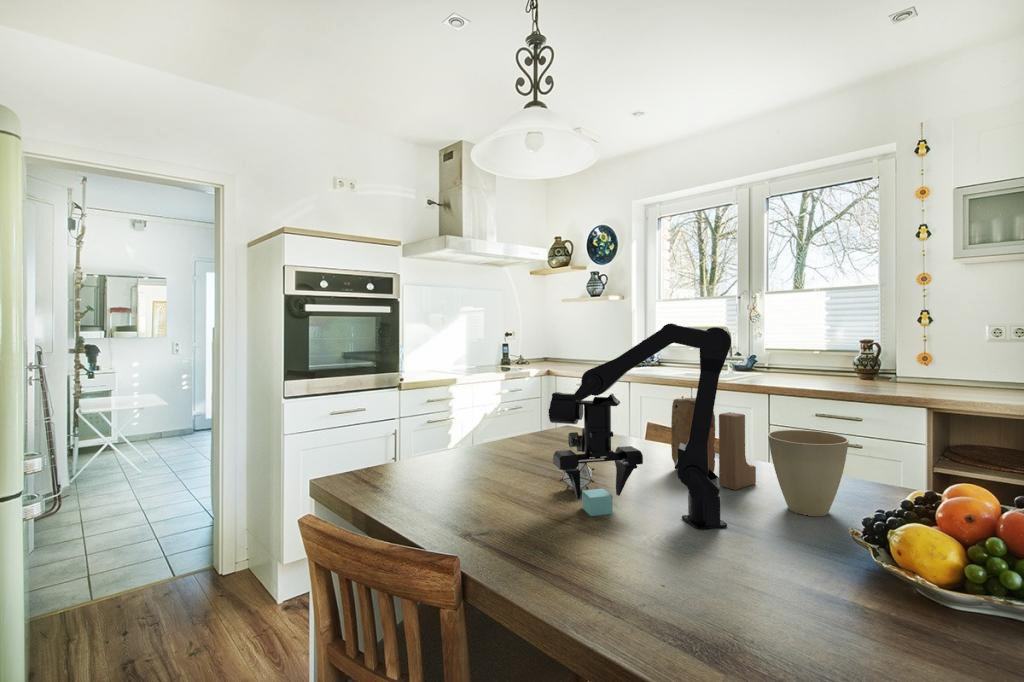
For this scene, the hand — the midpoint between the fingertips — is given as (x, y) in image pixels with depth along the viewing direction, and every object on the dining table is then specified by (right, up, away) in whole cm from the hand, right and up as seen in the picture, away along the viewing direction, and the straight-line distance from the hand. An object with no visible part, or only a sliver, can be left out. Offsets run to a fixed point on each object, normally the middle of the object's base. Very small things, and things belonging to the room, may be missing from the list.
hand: (598, 496), depth 111 cm
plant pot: (+44, -3, -2) cm, 44 cm away
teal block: (0, -3, 0) cm, 3 cm away
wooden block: (+37, -2, +16) cm, 41 cm away
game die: (-3, -3, +13) cm, 14 cm away
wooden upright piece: (+31, -2, +28) cm, 42 cm away
